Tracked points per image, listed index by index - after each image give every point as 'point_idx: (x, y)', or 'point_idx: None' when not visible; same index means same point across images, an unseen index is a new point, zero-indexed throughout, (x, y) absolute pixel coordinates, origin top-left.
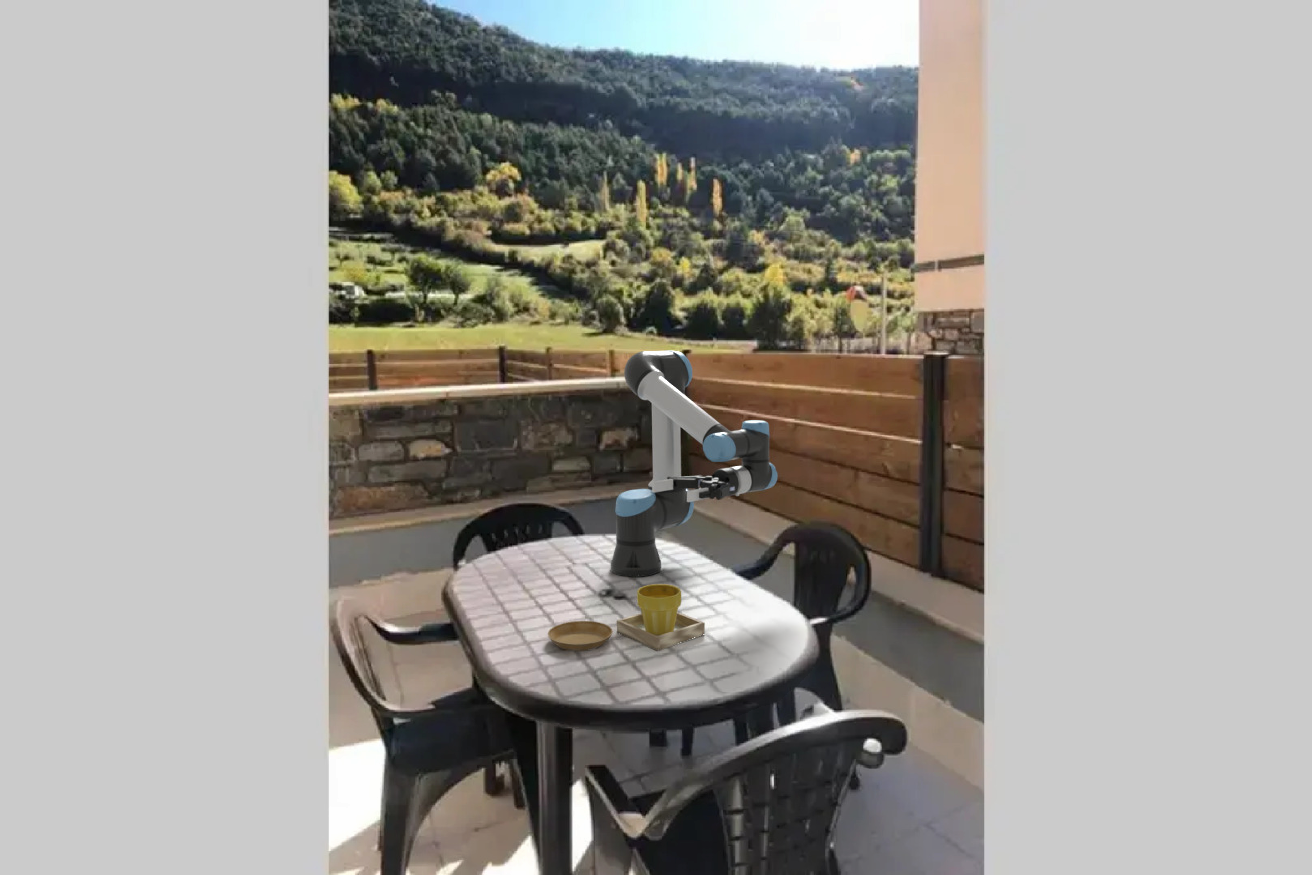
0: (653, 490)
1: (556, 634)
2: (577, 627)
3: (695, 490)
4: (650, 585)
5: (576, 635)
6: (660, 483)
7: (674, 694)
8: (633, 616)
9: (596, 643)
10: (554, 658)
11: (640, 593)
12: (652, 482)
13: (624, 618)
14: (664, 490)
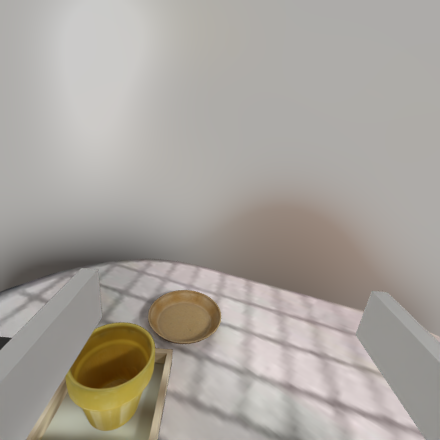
0: (361, 326)
1: (211, 310)
2: (211, 331)
3: (51, 298)
4: (147, 363)
5: (200, 327)
6: (398, 336)
7: (18, 302)
8: (164, 375)
9: (151, 309)
10: (172, 290)
11: (148, 345)
12: (384, 294)
13: (169, 361)
14: (405, 407)
